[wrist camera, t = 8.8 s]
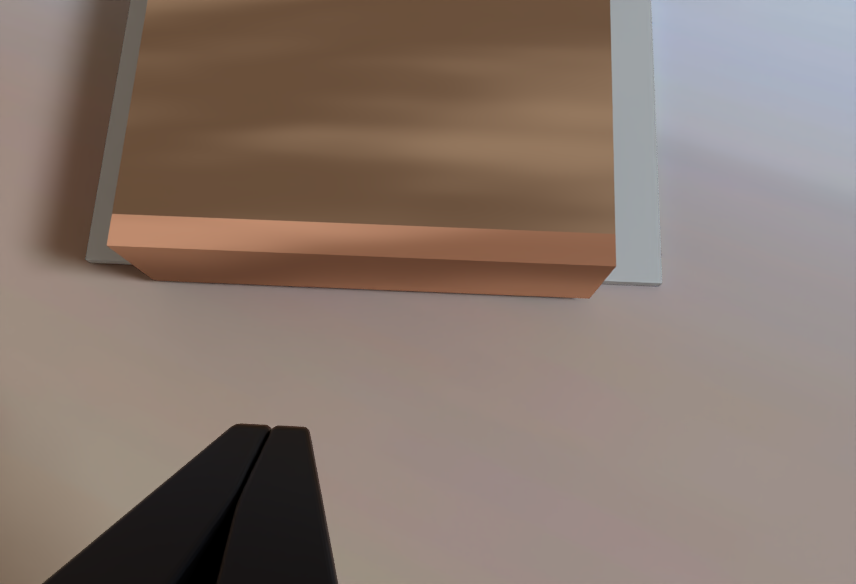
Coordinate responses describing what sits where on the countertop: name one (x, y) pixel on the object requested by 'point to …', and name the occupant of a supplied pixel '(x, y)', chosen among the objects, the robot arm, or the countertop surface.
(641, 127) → the mat
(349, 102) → the walnut slab
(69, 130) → the countertop surface
